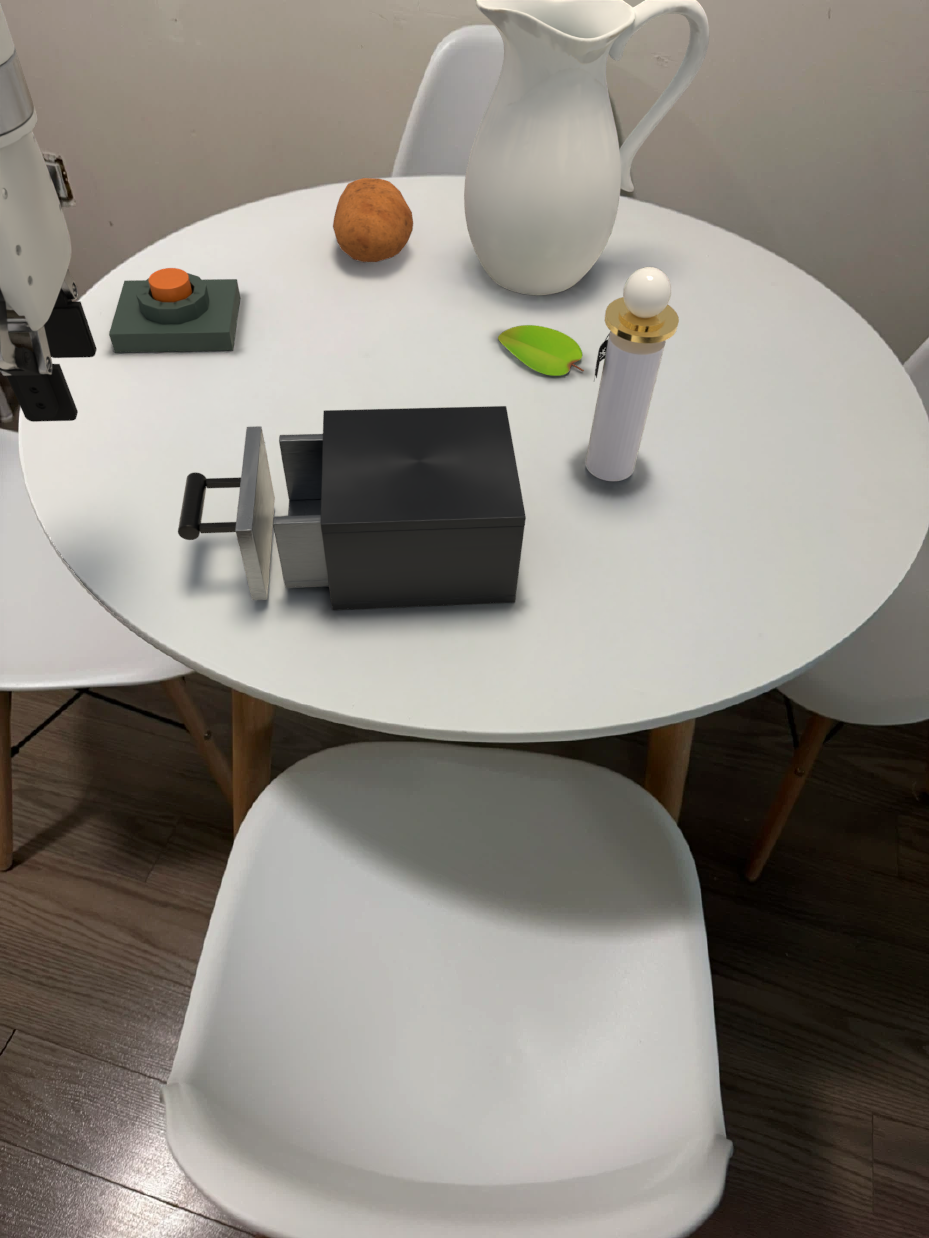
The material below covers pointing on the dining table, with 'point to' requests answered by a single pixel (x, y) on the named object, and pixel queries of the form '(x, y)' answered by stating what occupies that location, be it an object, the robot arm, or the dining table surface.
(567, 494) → the dining table surface
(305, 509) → the drawer
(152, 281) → the button
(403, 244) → the potato
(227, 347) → the control block
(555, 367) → the decorative leaf
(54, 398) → the robot arm
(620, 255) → the dining table surface
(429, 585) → the cabinet
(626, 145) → the pitcher
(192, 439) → the dining table surface
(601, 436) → the perfume bottle
